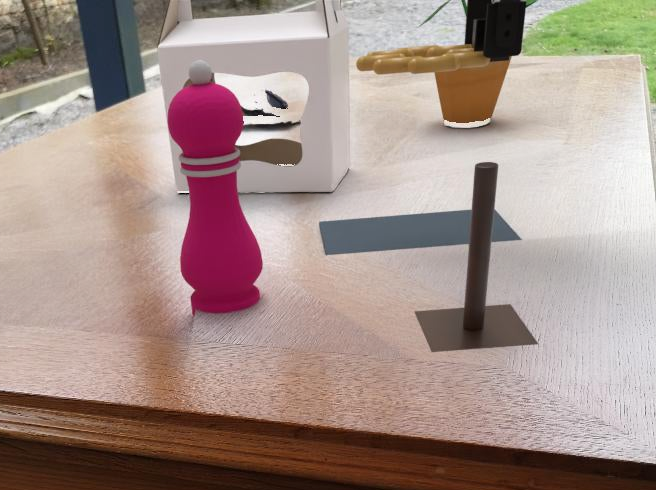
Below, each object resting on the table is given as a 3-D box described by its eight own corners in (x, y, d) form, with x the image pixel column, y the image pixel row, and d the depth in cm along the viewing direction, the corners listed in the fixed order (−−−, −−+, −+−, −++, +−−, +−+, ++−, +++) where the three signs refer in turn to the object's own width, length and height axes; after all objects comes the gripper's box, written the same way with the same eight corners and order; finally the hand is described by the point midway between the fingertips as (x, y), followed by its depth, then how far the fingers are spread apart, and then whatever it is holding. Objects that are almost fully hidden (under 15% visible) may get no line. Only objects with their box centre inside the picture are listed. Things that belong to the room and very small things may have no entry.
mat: (493, 212, 89) (493, 207, 89) (539, 264, 75) (539, 259, 75) (319, 225, 90) (319, 221, 90) (331, 280, 76) (331, 275, 75)
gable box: (352, 168, 111) (349, -78, 95) (335, 193, 101) (328, -77, 85) (205, 170, 117) (178, -62, 100) (174, 194, 106) (139, -59, 90)
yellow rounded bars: (494, 54, 76) (498, 12, 74) (521, 66, 68) (526, 20, 66) (351, 65, 76) (350, 24, 74) (362, 79, 69) (362, 33, 67)
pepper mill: (250, 291, 75) (228, 50, 63) (278, 317, 69) (259, 58, 57) (178, 306, 73) (141, 61, 61) (200, 334, 67) (164, 70, 56)
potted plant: (403, 137, 125) (409, -100, 108) (423, 114, 139) (432, -99, 122) (518, 136, 120) (544, -113, 102) (527, 112, 134) (552, -111, 116)
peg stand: (509, 317, 65) (528, 147, 58) (536, 358, 59) (562, 173, 51) (413, 324, 66) (419, 156, 58) (430, 366, 59) (440, 183, 51)
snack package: (270, 117, 148) (222, 127, 142) (272, 80, 144) (223, 88, 138) (313, 135, 142) (265, 146, 136) (317, 96, 138) (267, 106, 132)
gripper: (602, -236, 54) (562, 60, 65) (529, -200, 68) (507, 39, 79) (493, -227, 54) (471, 67, 65) (443, -192, 68) (432, 45, 79)
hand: (491, 49), depth 71 cm, fingers closed on yellow rounded bars, 6 cm apart
